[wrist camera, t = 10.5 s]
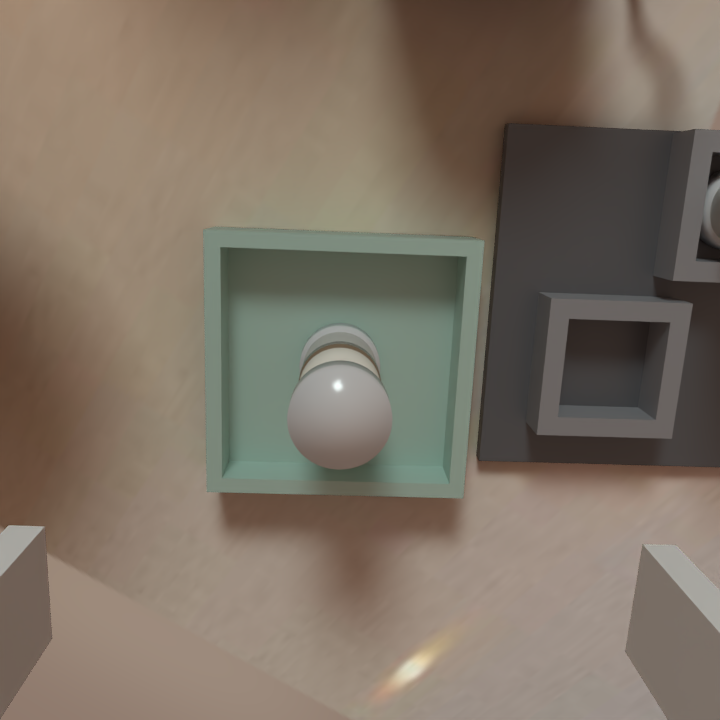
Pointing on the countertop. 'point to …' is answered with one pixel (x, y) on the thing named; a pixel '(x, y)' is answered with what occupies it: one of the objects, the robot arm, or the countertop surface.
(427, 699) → the countertop surface
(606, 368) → the block
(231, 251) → the parts tray
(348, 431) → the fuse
